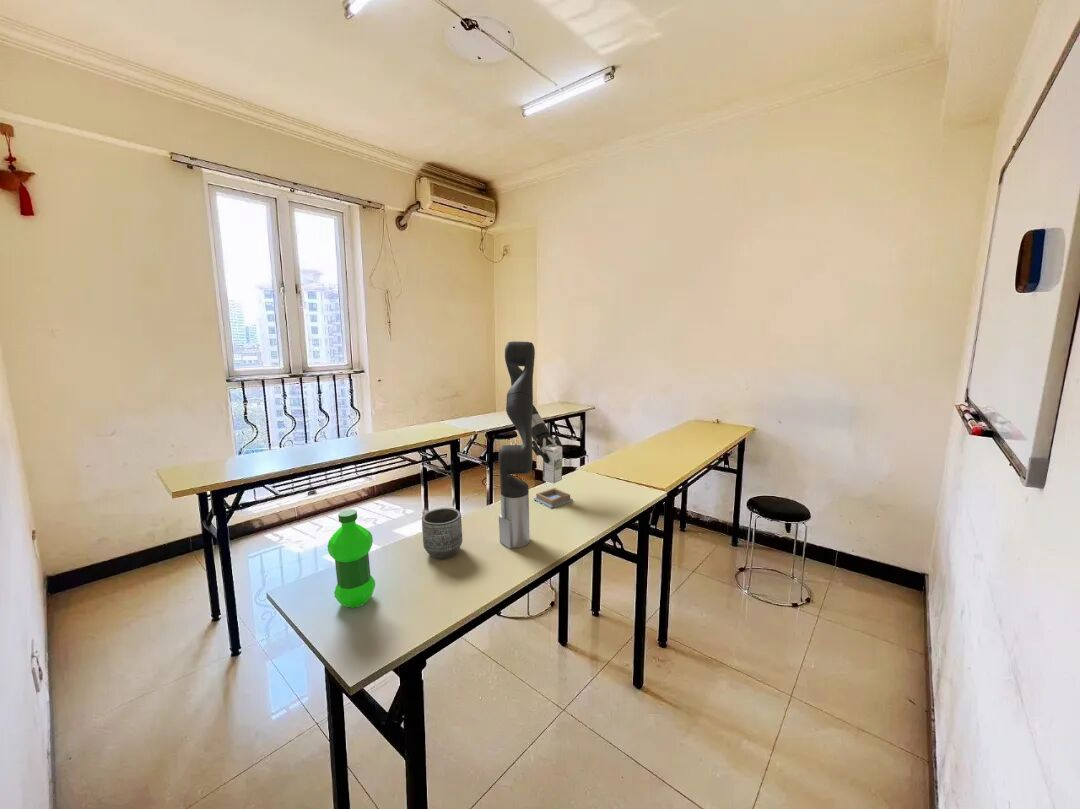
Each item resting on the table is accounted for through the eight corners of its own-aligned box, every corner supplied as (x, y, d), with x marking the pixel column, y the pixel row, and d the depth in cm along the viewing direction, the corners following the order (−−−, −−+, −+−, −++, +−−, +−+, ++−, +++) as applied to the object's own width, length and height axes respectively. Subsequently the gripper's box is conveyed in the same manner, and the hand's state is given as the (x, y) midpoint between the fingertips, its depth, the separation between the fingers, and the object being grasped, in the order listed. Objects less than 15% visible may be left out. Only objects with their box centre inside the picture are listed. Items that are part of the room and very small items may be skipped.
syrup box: (551, 476, 179) (551, 443, 176) (562, 480, 175) (562, 446, 172) (542, 480, 175) (542, 446, 172) (554, 484, 171) (553, 449, 168)
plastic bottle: (366, 585, 119) (358, 501, 115) (384, 601, 112) (376, 512, 108) (329, 602, 112) (319, 513, 108) (345, 620, 105) (335, 525, 100)
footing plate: (550, 508, 168) (550, 502, 168) (533, 500, 177) (533, 493, 176) (572, 500, 176) (572, 494, 175) (555, 493, 184) (555, 487, 184)
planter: (428, 567, 128) (426, 527, 126) (420, 549, 139) (417, 512, 136) (467, 557, 133) (466, 518, 131) (456, 540, 144) (455, 504, 142)
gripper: (527, 424, 172) (545, 459, 165) (553, 419, 181) (572, 452, 174) (519, 435, 177) (537, 469, 170) (546, 429, 186) (564, 461, 179)
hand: (555, 460), depth 172 cm, fingers closed on syrup box, 6 cm apart
